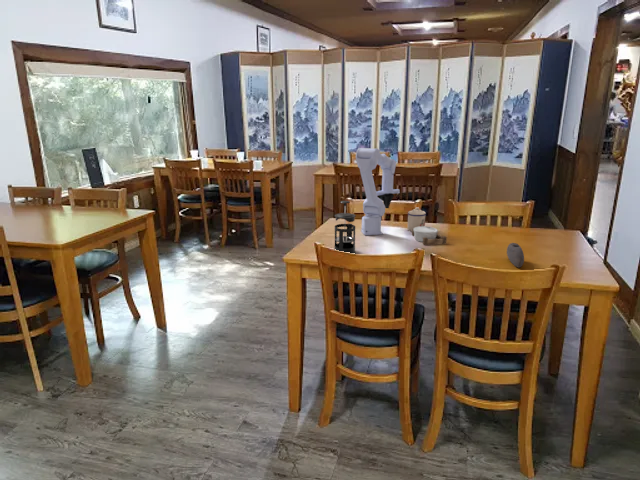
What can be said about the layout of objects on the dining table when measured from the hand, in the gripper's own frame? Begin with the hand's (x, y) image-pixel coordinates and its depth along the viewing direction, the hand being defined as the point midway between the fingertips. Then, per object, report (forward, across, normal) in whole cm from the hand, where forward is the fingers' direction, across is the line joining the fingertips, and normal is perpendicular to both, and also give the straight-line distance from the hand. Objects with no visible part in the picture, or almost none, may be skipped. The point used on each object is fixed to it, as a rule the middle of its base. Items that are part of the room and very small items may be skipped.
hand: (386, 207), depth 232 cm
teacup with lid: (+10, +10, -12) cm, 19 cm away
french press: (+10, -42, -27) cm, 51 cm away
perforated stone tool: (+10, +10, -73) cm, 75 cm away
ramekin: (+10, +1, -29) cm, 31 cm away
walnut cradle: (+10, +3, -30) cm, 32 cm away
